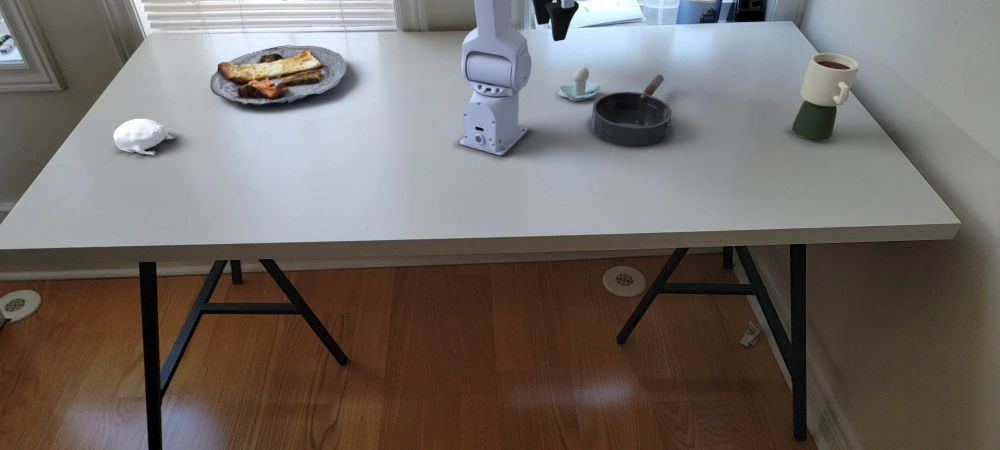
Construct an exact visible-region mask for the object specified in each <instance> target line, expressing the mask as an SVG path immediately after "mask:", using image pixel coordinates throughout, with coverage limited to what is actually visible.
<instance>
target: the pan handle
mask: <svg viewBox="0 0 1000 450" xmlns="http://www.w3.org/2000/svg"><path fill="white" fill-rule="evenodd" d="M664 80H665V79H664V76H663V75H662V74H657V75H655V77H654V78H653V79H652V80H651V81H650V82H649V84H648V85H647V86H646V88H645V89H644V90H643V91H642V92H641V93H642V94H643V95H642V96H640V100H641V101H642V102H645V101H646V100H647V98H646V96H644V95H646V94H647V95H651V96H653V95H654V94H655V92H656V91H657V89H658V88H659V87H660V86H661V84H662V83H663V82H664Z"/></svg>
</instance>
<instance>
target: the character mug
mask: <svg viewBox="0 0 1000 450" xmlns="http://www.w3.org/2000/svg"><path fill="white" fill-rule="evenodd" d="M859 68H860V63H859V61H857V60H856V59H854V58H852V57H850V56H848V55H844V54H841V53H834V52H819V53H818V52H817V53H815V54H812V55H811V57H810V59H809V62H808V65H807V69H806V72H805V75H804V79H803V81H802V85H801V88H800V93H799V94H800V96H801V98H802V99H803V102H802V104H801V106H800V108H799V110H798V112H797V114H796V116H795V118H794V121H793V123H792V126H791V130H792V131H793V133H795V135H797V136H800V137H802V138H806V139H811V140H829V139H830V138H832V135H833V133H834V129H835V122H836V117H837V113H838V109H837V107H839V106H842V105H844V104H845V103H846V102H847V101H848V100H849V98H850V91H851V88H852V86H853V84H854V83H855V81H856V77H857V73H858V71H859Z"/></svg>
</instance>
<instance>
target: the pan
mask: <svg viewBox="0 0 1000 450" xmlns="http://www.w3.org/2000/svg"><path fill="white" fill-rule="evenodd" d="M642 95H643V94H642V92H637V91H636V92H635V91H617V92H616V91H615V92H612V93H611V92H610V93H607V94H604V95H602V96H600V97H598V98H597V99H595V101H594V102H593V103H592V110H591V111H592V113H591V121H590V126H591V130H592V132H593V133H594V134H595V136H597V137H598V138H600V139H601V140H603V141H605V142H608V143H609V144H612V145H616V146H621V147H628V148H642V147H649V146H654V145H657V144H660V143H661V142H663V141H664V140H665V139H666V138H667V137H668V135H669V132H670V127H671V122H672V117H673V113H672V109H671V107H670V106H669V104H668V103H667V102H665V101H663V100H662V99H660V98H658V97H655V96H654V95H652V96H651V95H647V94H646V95H644V96H646V98H647V100H646V101H645V102H642V101H641V100H640V96H642Z"/></svg>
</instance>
